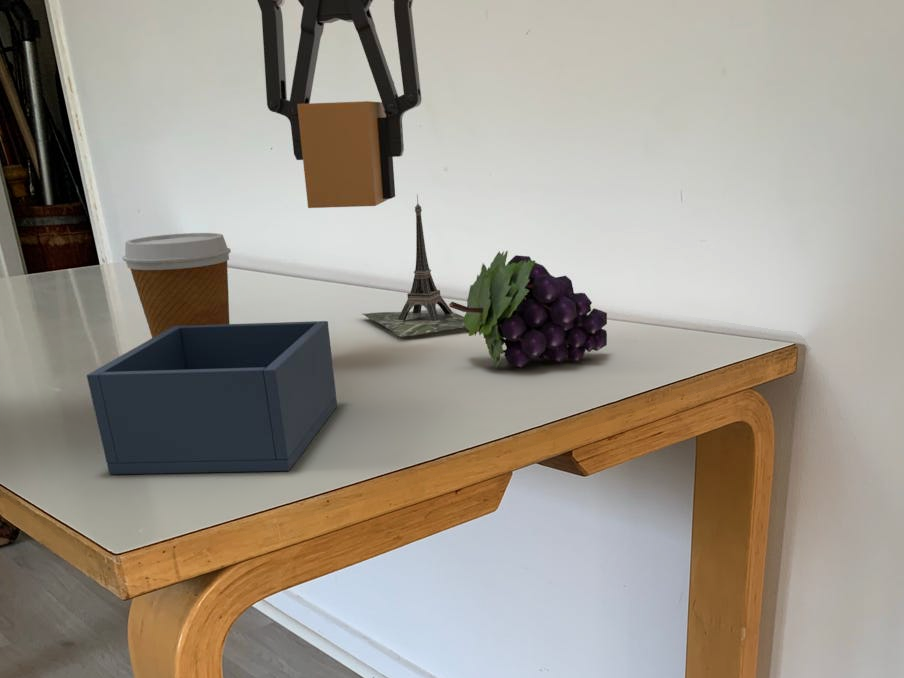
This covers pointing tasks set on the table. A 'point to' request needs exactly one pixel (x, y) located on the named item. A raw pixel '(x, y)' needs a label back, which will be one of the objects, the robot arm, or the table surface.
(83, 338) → the table surface
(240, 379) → the compartment
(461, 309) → the fruit
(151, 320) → the disposable coffee cup
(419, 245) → the eiffel tower figurine
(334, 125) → the tan cardboard-coloured block
